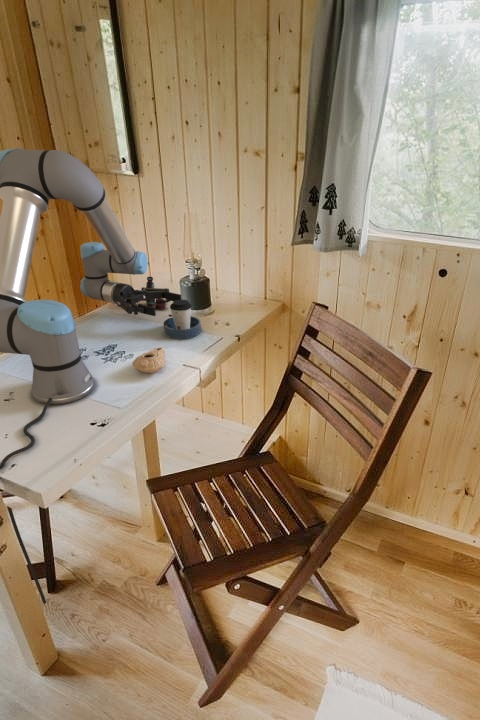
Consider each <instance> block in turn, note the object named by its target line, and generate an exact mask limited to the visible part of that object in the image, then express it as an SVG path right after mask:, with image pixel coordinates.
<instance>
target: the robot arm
mask: <svg viewBox="0 0 480 720" xmlns="http://www.w3.org/2000/svg"><path fill="white" fill-rule="evenodd" d="M106 197H107V193H106V190H105V188H104V185H103V184H102V183H101V181H100V180H99V178H98V177H97V175H95V173H94V172H92V170H91V169H90V168H89V167H88V166H87V165H85V164H84V163H83V161H81V160H79V159H78V158H76V157H75V156H74V155H72V154H70V153H68V152H65V151H62V150H57V149H23V148H18V147H17V148H8V149H2V150H0V199H1V201H2V207H1V212H0V353H3V354H15V355H26V356H27V355H28V356H29V358H30V361H31V364H32V368H33V369H32V383H31V393H32V396H33V398H34V400H35V401H37V402H38V403H40V404H45V405H44V406H43V408H42V411H41V413H40V414H39V416H37V417H36V418H35V419H33V420H32V421H29V422H28V423H27V424H26V425H24V427H23V429H22V431H23V434H24V435H25V436H26V437H27V438H29V439H30V443H28V445H26V446H23V447H21V448H19V449H16V450H13V451H11V452H10V453H9V454H7V455H5V457H4V458H3V459H2V460H1V462H0V470H3V468H4V467H5V464H6V463H7V461H8V460H9V459H10V458H12V457H13V456H15V455H18V454H20V453H22V452H26V451H27V450H29V449H31V448H32V447H33V446H34V444H35V442H36V439H35V437H34V435H33V434H31V433H30V432H28V429H29V427H31V426H33V425H34V424H36V423H38V422H39V421H41V419H43V417H44V416H45V415H46V412H47V410H48V408H49V406H50V405H52V406H53V405H54V406H55V405H57V406H58V405H66V404H70V403H73V402H76V401H79V400H82V399H84V398H85V397H87V396H88V395H90V394H91V393H92V392H93V390H95V381H94V377H93V375H92V373H91V372H90V370H89V368H88V367H87V366H86V364H85V362H84V361H83V359H82V354H81V350H80V345H79V341H78V335H77V331H76V323H75V320H74V318H73V315H72V312H71V310H70V308H69V307H68V306H67V305H66V304H64V303H63V302H60V301H56V300H51V299H39V300H36V299H32V300H26V298H25V295H26V291H27V286H28V285H27V284H28V280H29V274H30V268H31V263H32V257H33V252H34V249H35V243H36V242H35V241H36V236H37V231H38V226H39V221H40V215H42V214H44V213H45V212H47V211H48V208H49V202H50V200H65V201H67V202H70V203H71V204H72V206H73V207H74V208H75V209H76V210H78V211H79V212H82V214H83V216H84V217H85V219H86V220H87V222H88V223H89V225H90V226H91V228H92V229H93V231H94V232H95V234H96V235H97V237H98V238H99V239H100V241H101V242H98V241H89V242H84V243H82V244H80V247H79V249H80V250H79V251H80V259H81V264H82V268H83V274H84V277H83V278H82V279H81V280H80V285H79V289H80V292H81V293H82V295H84V296H85V297H87V298H90V299H92V300H97V301H103V302H107V303H110V304H113V305H116V307H118V308H121V309H122V310H123V311H124V312H126V313H127V314H128V315H132V314H133V315H134V316H138V315H139V314H144V315H147V316H152V317H156V316H157V314H156V308H155V307H156V306H154V307H151V306H147V304H142V303H139V302H146V301H147V300H148V299H155V300H156V299H164V300H169V301H170V302H174V301H176V300H183V299H182V294H179V293H176V292H171V291H170V288H166V287H165V288H158V287H154V288H146V287H144V286H143V287H141V289H140V290H139V289H135V288H134V287H133V285H131V284H128V283H123V282H119V281H114V280H110V279H109V278H108V277H109V275H108V273H109V274H120V275H121V274H122V275H123V274H124V275H133V276H134V275H144V274H146V272H147V270H148V263H149V261H148V257H147V255H146V253H145V252H143V251H139V250H137V251H136V250H135V248H134V246H133V245H132V243H131V241H130V240H129V238H128V236H127V235H126V233H125V231H124V229H123V227H122V226H121V224H120V222H119V220H118V218H117V217H116V215H115V213H114V211H113V209H112V208H111V206H110V204H109V203H108V201H107V199H106ZM6 508H7V511H8V515H9V518H10V522H11V524H12V527H13V531H14V533H15V536H16V539H17V541H18V543H19V544H18V545H19V546H20V549H21V551H22V554H23V556H24V559H25V561H26V564H27V566H28V568H29V571H30V574H31V576H32V578H33V580H34V583H35V585H36V588H37V591H38V593H39V596H40V598H41V601H42V604H43V605H45V604H47V600H46V597H45V594H44V591H43V588H42V586H41V584H40V581H39V579H38V577H37V573H36V571H35V569H34V566H33V564H32V561H31V559H30V557H29V554H28V552H27V551H28V550H27V549H26V546H25V544H24V541H23V539H22V536H21V533H20V531H19V528H18V524H17V522H16V519H15V515H14V512H13V509H12V507H10V506H8V505H6Z"/></svg>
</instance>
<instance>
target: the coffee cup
mask: <svg viewBox="0 0 480 720" xmlns="http://www.w3.org/2000/svg"><path fill="white" fill-rule="evenodd" d="M169 308H170V310H171V315H172V316H171V317H173V320H174V325H175V329H179V330H181V329H190V318H191V316H192V315H191V313H192V304H191V303H190V301H189V300H187V299H182V300H176V301H172V303H170V306H169Z"/></svg>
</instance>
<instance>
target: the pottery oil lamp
mask: <svg viewBox="0 0 480 720" xmlns="http://www.w3.org/2000/svg"><path fill="white" fill-rule="evenodd" d="M131 365H132V367H133V368H134V369H135V370H136V371H139V372H141V373H146V374H149V375H152V374H156V373H158V372H159V371H160V370H161V369H163V368H164V367H165V366H166V360H165V350H164V348H163V347H154V348H153V349H151V350H148V351H146V352H143V353H141V354H140V355H138V356H137V357H136V358H135V359H134V360H133V361H132V364H131Z"/></svg>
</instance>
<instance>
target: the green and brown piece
mask: <svg viewBox="0 0 480 720" xmlns="http://www.w3.org/2000/svg"><path fill="white" fill-rule="evenodd" d="M153 280H154V277H152V276H147V277H146V284H145V288H155V283H154V282H153ZM169 302H171V301H169V300H165V298H162V299H148V300H147V301H145V303H146V305H147V306H151V307H155V309H158V310H166V307H167V305H166V304H168V303H169Z"/></svg>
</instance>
